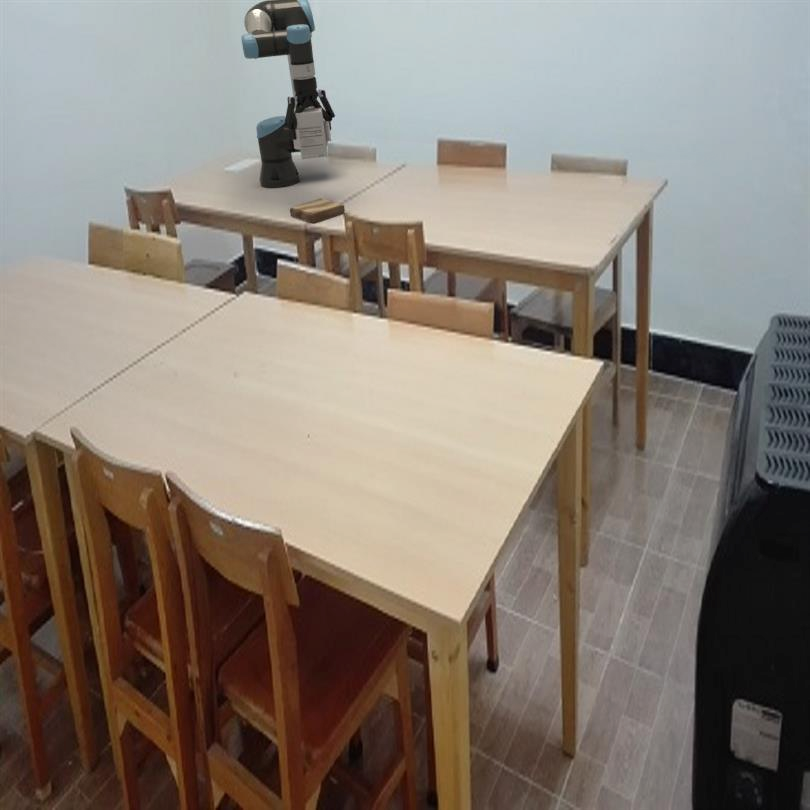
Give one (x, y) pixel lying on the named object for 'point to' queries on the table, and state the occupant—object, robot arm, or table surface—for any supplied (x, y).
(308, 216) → the walnut base
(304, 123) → the supplement box
